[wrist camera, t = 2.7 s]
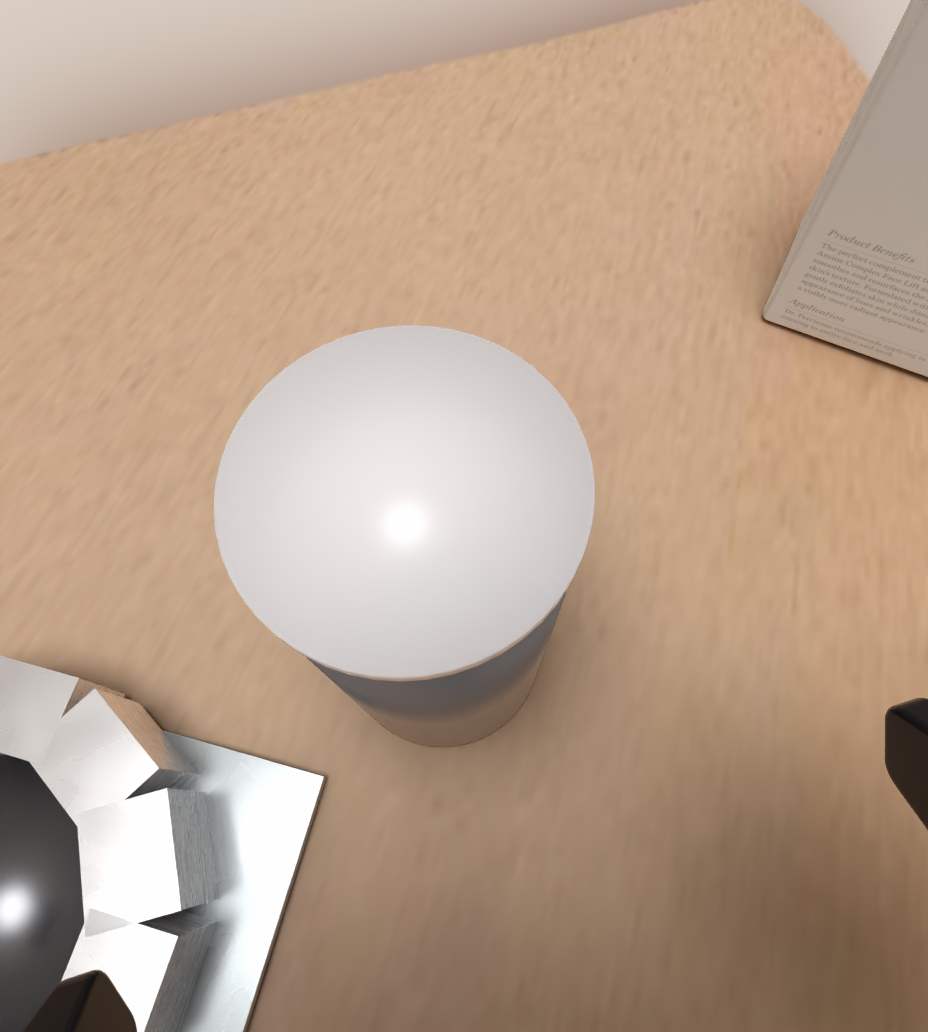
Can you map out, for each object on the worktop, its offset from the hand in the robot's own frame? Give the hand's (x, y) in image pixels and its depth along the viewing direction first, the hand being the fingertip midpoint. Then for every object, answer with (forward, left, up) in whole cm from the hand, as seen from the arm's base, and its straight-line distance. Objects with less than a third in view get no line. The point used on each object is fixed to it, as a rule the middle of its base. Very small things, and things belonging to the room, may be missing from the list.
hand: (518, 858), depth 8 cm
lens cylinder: (+3, -4, -11) cm, 13 cm away
